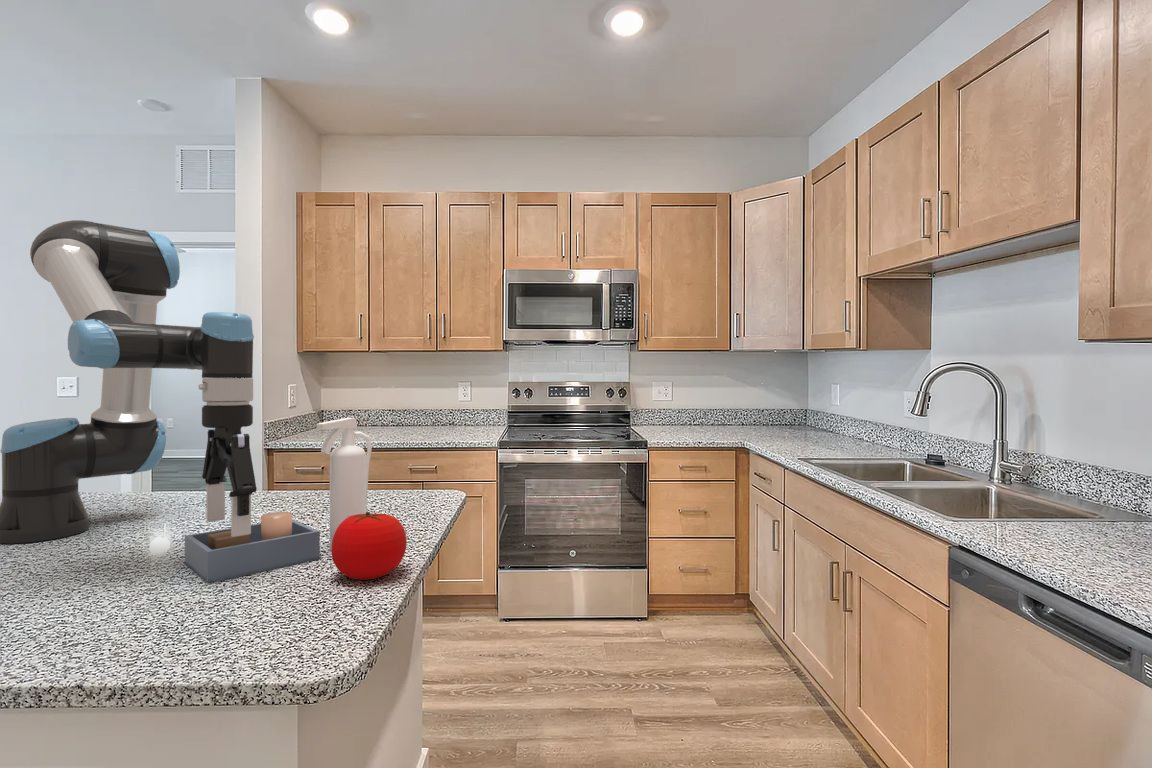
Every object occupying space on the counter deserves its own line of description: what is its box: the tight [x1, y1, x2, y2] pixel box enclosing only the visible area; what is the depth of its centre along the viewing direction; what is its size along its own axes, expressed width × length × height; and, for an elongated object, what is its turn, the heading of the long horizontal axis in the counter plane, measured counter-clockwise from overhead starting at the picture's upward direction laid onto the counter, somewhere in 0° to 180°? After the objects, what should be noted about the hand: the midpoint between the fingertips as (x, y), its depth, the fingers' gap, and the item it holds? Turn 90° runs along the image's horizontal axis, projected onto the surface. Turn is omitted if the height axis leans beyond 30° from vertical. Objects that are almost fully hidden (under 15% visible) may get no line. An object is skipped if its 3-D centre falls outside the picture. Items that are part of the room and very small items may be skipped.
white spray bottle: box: [316, 417, 373, 552], centre depth 113 cm, size 7×12×25 cm, turn 142°
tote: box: [184, 519, 321, 584], centre depth 105 cm, size 14×18×5 cm
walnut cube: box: [208, 531, 250, 550], centre depth 102 cm, size 5×5×5 cm
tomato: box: [330, 511, 407, 581], centre depth 98 cm, size 12×12×10 cm
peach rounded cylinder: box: [260, 511, 293, 541], centre depth 107 cm, size 5×5×7 cm
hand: (227, 527), depth 102 cm, fingers open, 13 cm apart
